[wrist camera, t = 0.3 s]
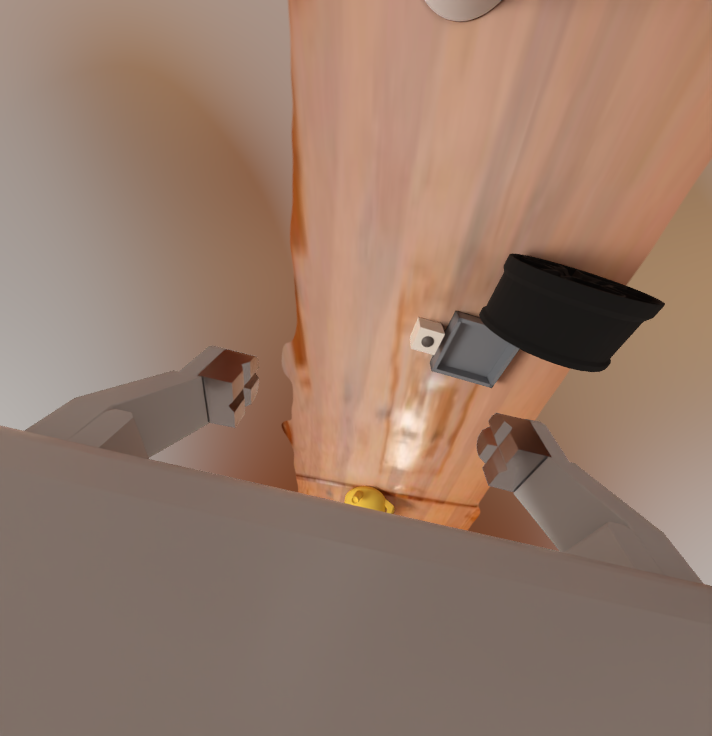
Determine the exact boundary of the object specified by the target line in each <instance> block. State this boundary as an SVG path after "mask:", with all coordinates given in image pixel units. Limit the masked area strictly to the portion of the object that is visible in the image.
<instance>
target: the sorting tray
mask: <svg viewBox="0 0 712 736" xmlns="http://www.w3.org/2000/svg"><path fill="white" fill-rule="evenodd" d="M518 350H519V348H517V347H515V346H513V345H512V344H510V343H508V342H506V341H505V340H503V339H502V338H500V337H499V336H497V335H496V334H494V333H493V332H492V331H491V330H490V329H488V328H487V327H486V326H485V325H484V324H483V322H482V321H481V319H480V318H479V317H475V316H472V315H469V314H465V313H462V312H459V311H455V313H454V315H453V317H452V319H451V321H450V323H449V325H448V327H447V329H446V331H445V335H444V337H443V339H442V341H441V343H440V345H439V347H438V349H437V351H436V353H435V355H433V357H432V359H431V361H430V366H431V371H434V372H437V373H441V374H444V375H448V376H451V377H455V378H458V379H462V380H465V381H469V382H472V383H476V384H479V385H483V386H486V387H490V388H492V387H493V386H494V384H495V383H496V381H497V380H498V379H499V377H500V376H501V374H502V373H503V372H504V370H505V369H506V367H507V366H508V364H509V363H510V362H511V360H512V359H513V357H514V356H515V355H516V353H517V352H518Z"/></svg>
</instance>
